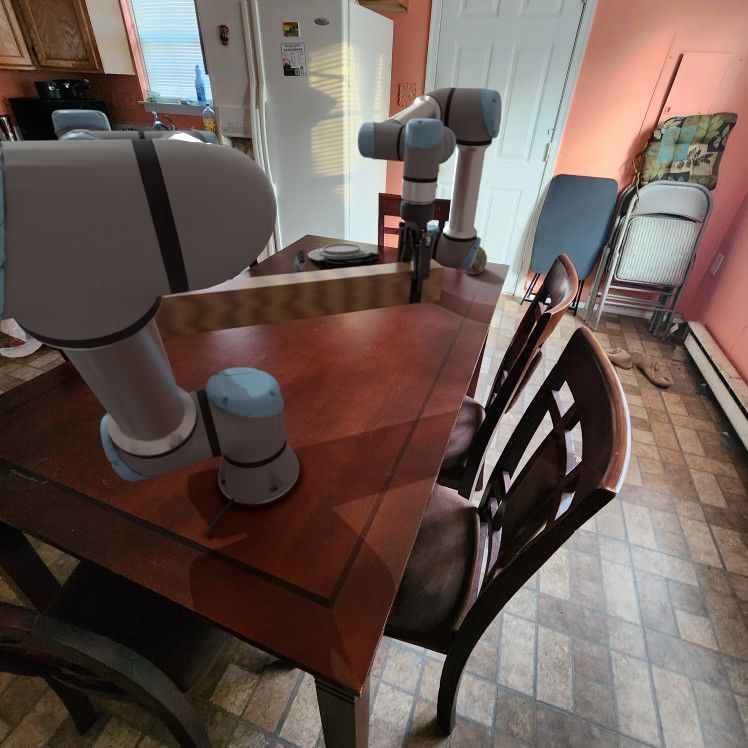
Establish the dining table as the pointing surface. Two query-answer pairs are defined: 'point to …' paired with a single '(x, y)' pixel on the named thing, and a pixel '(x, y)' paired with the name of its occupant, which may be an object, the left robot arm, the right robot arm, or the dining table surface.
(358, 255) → the brake disc
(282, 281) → the post
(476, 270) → the lumpy boulder
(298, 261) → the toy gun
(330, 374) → the dining table surface
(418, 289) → the right robot arm
